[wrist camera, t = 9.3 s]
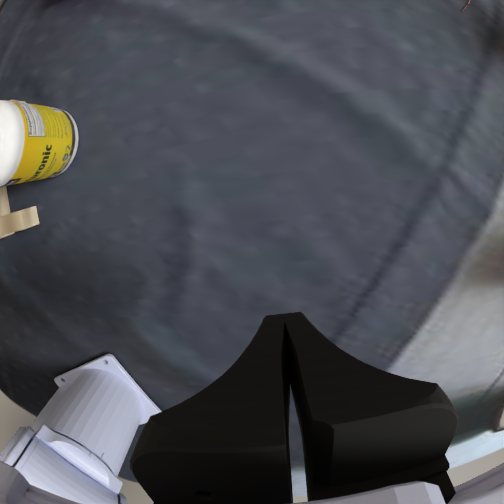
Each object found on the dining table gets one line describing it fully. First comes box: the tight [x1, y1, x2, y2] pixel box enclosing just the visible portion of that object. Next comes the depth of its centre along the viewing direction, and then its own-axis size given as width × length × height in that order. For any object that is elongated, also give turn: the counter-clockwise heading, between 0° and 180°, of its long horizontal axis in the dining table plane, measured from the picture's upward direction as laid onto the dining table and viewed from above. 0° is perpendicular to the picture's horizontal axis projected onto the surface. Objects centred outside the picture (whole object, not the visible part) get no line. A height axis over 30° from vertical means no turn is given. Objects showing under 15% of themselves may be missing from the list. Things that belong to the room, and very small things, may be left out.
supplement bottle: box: [0, 100, 78, 187], centre depth 14 cm, size 5×5×10 cm
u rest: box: [0, 100, 39, 239], centre depth 19 cm, size 5×11×2 cm, turn 7°
